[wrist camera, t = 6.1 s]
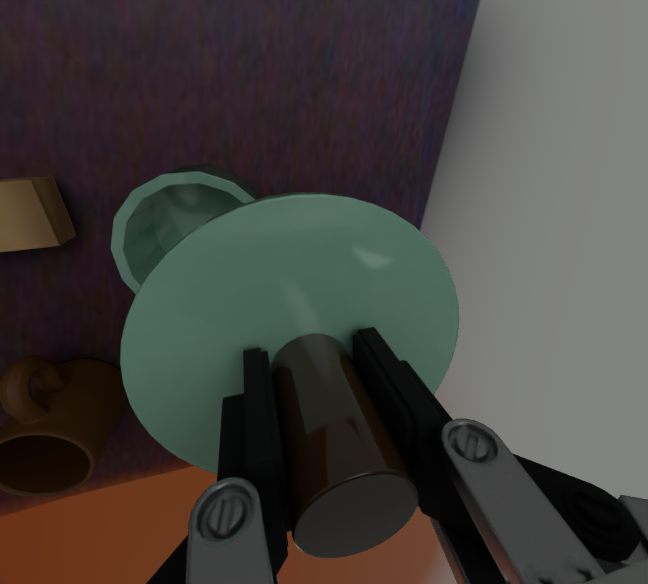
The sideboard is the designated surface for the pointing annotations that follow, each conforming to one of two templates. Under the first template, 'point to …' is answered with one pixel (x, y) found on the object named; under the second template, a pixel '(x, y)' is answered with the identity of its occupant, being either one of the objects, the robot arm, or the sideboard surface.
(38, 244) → the tan wooden bar
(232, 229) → the lid
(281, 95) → the sideboard surface
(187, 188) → the pot
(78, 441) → the mug
